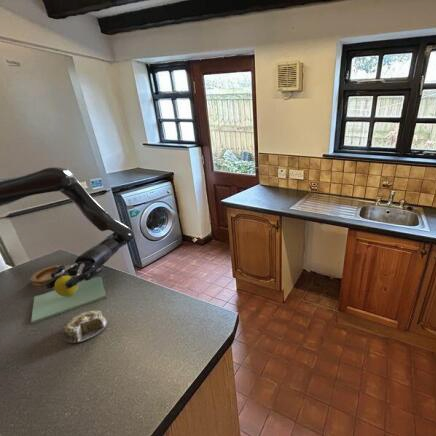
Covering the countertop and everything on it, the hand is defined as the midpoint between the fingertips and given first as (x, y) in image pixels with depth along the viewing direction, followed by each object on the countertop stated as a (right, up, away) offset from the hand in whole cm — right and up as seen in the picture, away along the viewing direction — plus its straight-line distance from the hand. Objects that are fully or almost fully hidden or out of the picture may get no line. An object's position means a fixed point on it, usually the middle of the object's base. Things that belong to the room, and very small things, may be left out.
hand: (57, 286), depth 77 cm
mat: (0, -5, +5) cm, 7 cm away
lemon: (0, -5, +5) cm, 7 cm away
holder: (-17, -1, +15) cm, 22 cm away
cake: (+15, -11, -7) cm, 20 cm away
